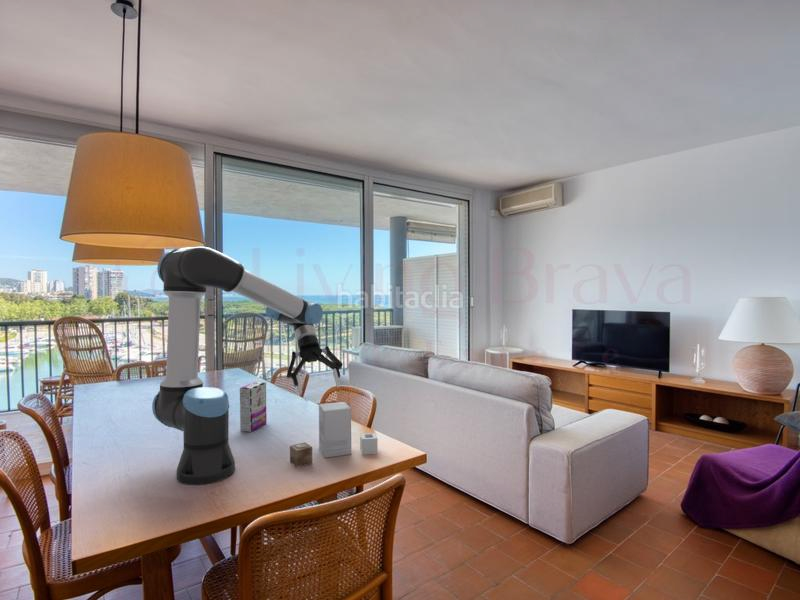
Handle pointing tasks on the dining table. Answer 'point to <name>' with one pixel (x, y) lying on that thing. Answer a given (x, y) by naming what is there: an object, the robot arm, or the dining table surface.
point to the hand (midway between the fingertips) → (320, 389)
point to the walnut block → (301, 454)
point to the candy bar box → (252, 406)
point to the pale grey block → (368, 443)
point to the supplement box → (334, 429)
